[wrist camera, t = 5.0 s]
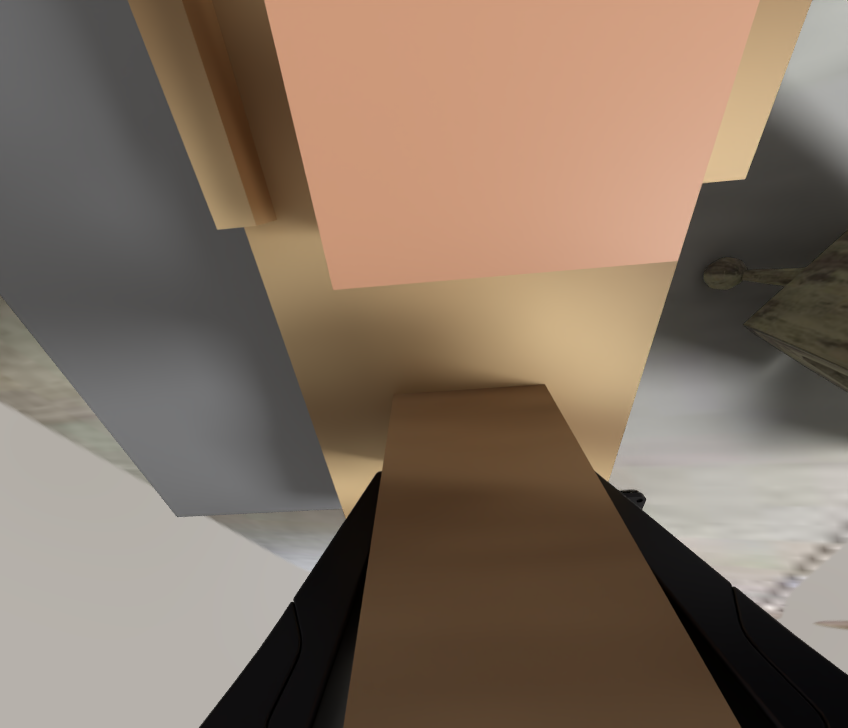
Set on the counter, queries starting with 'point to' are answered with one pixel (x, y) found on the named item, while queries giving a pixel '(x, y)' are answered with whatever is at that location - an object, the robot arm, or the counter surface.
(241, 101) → the tray
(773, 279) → the tabletop clock
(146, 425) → the grey flat slab
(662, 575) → the robot arm
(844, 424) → the counter surface
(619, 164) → the block
